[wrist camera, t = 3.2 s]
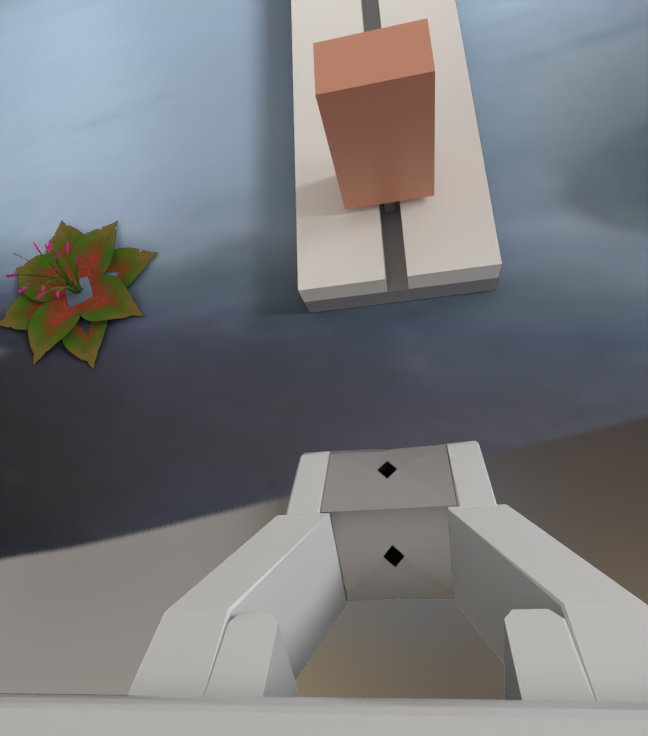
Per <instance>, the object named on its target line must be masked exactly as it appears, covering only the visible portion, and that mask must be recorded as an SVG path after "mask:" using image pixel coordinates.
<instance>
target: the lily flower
mask: <svg viewBox="0 0 648 736" xmlns="http://www.w3.org/2000/svg"><path fill="white" fill-rule="evenodd" d="M117 222H118V221H116V222H114V223H113V224H110V225H107V226H104V227H103V228H102V229H100V230H99V229H96V230H93V231H91V232H89V233H87V234H85V235H83V234H82V233H81V232H80V231H79V230H77V229H75V228H73V227H71V226H66V224H65V223H64V222H63V221H62V220H61V223H60V226H59V227H58V229H57V231H56V233H55V234H56V236H54V237H53V238H52V239H51V240H50V241H49V245H48V247H47V246H46V244H45V246H46V249H47V250H48V251H47V255H42V254H41V252H40V250H39V249H38V247H37V246H36V244H34V245H35V247H36V249H37V250H38V252H40V254H41V255H38V256H36V257H34V258H32V259H31V260H30V261H28V262H27V263H26V264H25V265H24V266H23V267H19V268H16V270H17V271H18V272H17V273H18V274H17V275H18V277H19V280H18V284H19V287H20V290H19V291H18V292H19V293H21V292H22V291H23V293H22V294H21V295H20V296H18V297H17V298H16V299H15V300H14V302H13V303H12V304H11V306H10V307H9V309H8V311H7V312H6V314H5V318H4V320H1V321H0V326H4V327H12V328H13V329H19V330H28V336H29V341H30V346H31V350H32V351H33V353H34V354H35V355H34V356H33V365H34V364H35V363H36V362H37V360H39V359H40V358H41V357H42V356H43V355H44V354H45V352H46V351H48V350H50V349H51V348H52V347H53V346H54V345H55V344H56V343H57V342H58V341H60V340H61V339H62V342H63V344H64V346H65V347H66V348H67V349H68V350H69V351H70V352H71V353H72V354H74V355H75V356H77V357H78V358H80V359H81V360H85V361H88V364H89V365H90V366H91V367H92V368H94V361H95V360H96V357H97V354H98V348H99V347H100V345H101V342H102V339H103V336H104V333H105V330H106V326H107V320H109V319H118V318H126V317H129V316H131V315H134V316H144V315H143V314H142V313H141V312H140V311H139V308H138V307H137V305H136V303H135V302H134V301H132V299H131V298H132V296H131V294H130V293H129V291H128V290H127V287H128V286H129V285H130V284H131V283H132V282H133V281H134V279H135V278H136V277H137V276H138V275H139V274H140V272H141V271H142V270H143V269H144V268H145V267H146V265H147V264H148V262H149V260H150V259H152V258H153V257H154V256H155V255H156V254H157V253H158V252H152V253H151V252H148V251H141V252H140V251H139V249H134V248H120V249H116V250H114V241H115V235H116V230H115V227H116V226H117ZM33 243H34V242H33ZM12 253H13V252H12ZM14 254H15V253H14ZM16 255H17V254H16ZM18 256H19V255H18ZM20 257H21V256H20ZM22 258H23V257H22ZM105 272H120V273H119V274H118V275H117V277H116V276H113V275H104V273H105ZM17 275H16V274H14V275H13V274H11V275H6V276H7V277H13V276H14V277H15V276H17ZM103 275H104V276H103ZM85 276H88V278H89V281H90V284H91V287H92V293H93V297H91V298H90V299H88V300H86V301H84V302H82V303H81V304H78V305H75V306H72V307H68V303H67V299H66V295H65V289H67V290H70V291H72V292H74V293H79V292H81V291H80V290H82V288H81V286H80V283H79V279H80V278H83V277H85ZM74 282H75V283H76V285H77V286H76V285H75V283H74ZM67 285H69V286H70V287H68V286H67ZM71 287H72V288H71ZM74 288H75V289H74ZM44 302H45V303H44ZM43 303H44V304H43ZM80 316H82V317H83V318H84V319H85V320H88V321H92V322H91V326H90V329H89V330H88V337H87V335H86V333H85V332H84V331H83V330H82V329H81V328H80V327H79V326H78V325H77V324H76V323H77V322H78V320H79V318H80Z"/></svg>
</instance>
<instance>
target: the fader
mask: <svg viewBox="0 0 648 736" xmlns="http://www.w3.org/2000/svg"><path fill="white" fill-rule="evenodd" d="M313 54H314V77H315V96H316V100H317V104H318V107H319V111H320V115H321V119H322V123H323V127H324V130H325V134H326V138H327V142H328V146H329V150H330V153H331V157H332V161H333V165H334V169H335V173H336V176H337V180H338V184H339V188H340V192H341V195H342V199H343V203H344V207H345V210H346V209H352V208H358V207H365V206H371V205H378V204H384V206H385V212H391V211H395V202H397V201H403V200H409V199H416V198H422V197H428V196H434V160H435V66H434V59H433V52H432V46H431V39H430V32H429V26H428V19H427V18H426V19H422V20H417V21H412V22H408V23H403V24H399V25H394V26H390V27H385V28H380V29H376V30H371V31H367V32H362V33H358V34H353V35H348V36H344V37H339V38H335V39H330V40H326V41H321V42H316V43H313Z"/></svg>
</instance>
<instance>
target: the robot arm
mask: <svg viewBox="0 0 648 736" xmlns="http://www.w3.org/2000/svg"><path fill="white" fill-rule="evenodd" d="M399 597H400V598H399ZM382 599H383V600H384V599H454V602H455V603H456V604H457V606H458V607H459V608H460V609H461V611H462V612H463V613H464V614H465V616H466V617H467V618H468V619H469V621H470V622H471V623H472V625H473V626H474V627H475V628H476V630H477V631H478V632H479V633H480V635H481V636H482V637H483V638H484V640H485V641H486V642H487V643H488V645H489V646H490V647H491V649H492V650H493V651H494V652H495V654H496V655H497V656H498V657H499V659H500V660H501V661H502V662H503V664H504V665H505V700H486V699H484V700H481V699H410V698H407V699H406V698H404V699H403V698H332V697H331V698H329V697H327V698H325V697H299V694H298V691H297V687H296V683H295V681H296V679H297V678H298V676H299V675H300V673H301V672H302V670H303V669H304V667H305V666H306V664H307V662H308V661H309V660H310V658H311V657H312V655H313V654H314V653H315V651H316V650H317V648H318V647H319V645H320V644H321V642H322V641H323V639H324V637H325V636H326V635H327V633H328V632H329V631H330V629H331V628H332V626H333V625H334V623H335V622H336V620H337V619H338V617H339V616H340V614H341V613H342V611H343V610H344V608H345V607H346V605H347V601H362V600H382ZM0 736H648V605H647V604H645V603H644V602H643V601H641V600H640V599H638V598H637V597H636V596H634V595H632V594H631V593H630V592H628V591H627V590H626V589H624V588H623V587H621V586H620V585H619V584H617V583H616V582H614V581H613V580H612V579H610V578H609V577H607V576H606V575H605V574H603V573H602V572H601V571H599V570H598V569H596V568H595V567H593V566H592V565H591V564H589V563H588V562H586V561H585V560H584V559H582V558H581V557H579V556H578V555H577V554H575V553H574V552H572V551H571V550H570V549H568V548H567V547H565V546H564V545H562V544H561V543H560V542H558V541H557V540H556V539H554V538H553V537H551V536H550V535H549V534H547V533H546V532H544V531H543V530H541V529H540V528H539V527H537V526H536V525H535V524H533V523H532V522H530V521H529V520H528V519H526V518H525V517H523V516H522V515H521V514H519V513H518V512H516V511H515V510H514V509H512V508H511V507H509V506H508V505H506V504H503V505H497V504H496V500H495V497H494V493H493V490H492V487H491V483H490V480H489V477H488V473H487V470H486V466H485V463H484V460H483V456H482V453H481V450H480V446H479V443H478V442H476V441H468V442H458V443H448V444H444V445H432V446H420V447H408V448H397V449H367V450H346V451H332V452H330V451H326V452H312V453H304V454H303V455H302V456H301V457H300V460H299V464H298V468H297V472H296V476H295V480H294V484H293V488H292V491H291V495H290V499H289V503H288V507H287V511H286V515H280V516H279V515H278V516H276V517H275V518H274V519H273V520H271V521H270V522H269V523H268V524H267V525H266V526H264V527H263V528H262V529H261V530H260V531H259V532H257V533H256V534H255V535H254V536H253V537H252V538H250V539H249V540H248V541H247V542H246V543H245V544H243V545H242V546H241V547H240V548H239V549H238V550H236V551H235V552H234V553H233V554H232V555H231V556H230V557H228V558H227V559H226V560H225V561H224V562H222V563H221V564H220V565H219V566H218V567H217V568H215V569H214V570H213V571H212V572H211V573H210V574H208V575H207V576H206V577H205V578H204V579H203V580H202V581H200V582H199V583H198V584H197V585H196V586H195V587H193V588H192V589H191V590H190V591H189V592H187V593H186V594H185V595H184V596H183V597H182V598H181V599H179V600H178V601H177V602H176V603H175V604H173V605H172V606H171V607H170V608H169V609H168V610H167V611H165V612H164V614H163V617H162V619H161V621H160V623H159V626H158V628H157V630H156V632H155V634H154V637H153V639H152V641H151V643H150V645H149V648H148V650H147V652H146V654H145V656H144V659H143V661H142V663H141V665H140V667H139V670H138V672H137V674H136V676H135V678H134V681H133V683H132V685H131V687H130V690H129V692H128V694H127V695H94V694H15V693H11V694H10V693H0Z"/></svg>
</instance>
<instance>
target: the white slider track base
mask: <svg viewBox="0 0 648 736" xmlns="http://www.w3.org/2000/svg"><path fill="white" fill-rule="evenodd" d="M291 15H292V57H293V99H294V141H295V183H296V225H297V267H298V291H299V293H300V295H301V297H302V299H303V301H304V303H305V305H306V306H307V308H308V310H309V312H310V313H313V312H321V311H330V310H338V309H346V308H354V307H362V306H370V305H378V304H387V303H395V302H403V301H411V300H419V299H427V298H435V297H444V296H452V295H460V294H468V293H476V292H484V291H492V290H495V289H496V285H497V281H498V277H499V273H500V270H501V266H502V261H501V255H500V250H499V244H498V239H497V233H496V227H495V222H494V216H493V210H492V205H491V199H490V193H489V188H488V182H487V176H486V171H485V165H484V159H483V154H482V148H481V142H480V137H479V131H478V126H477V120H476V114H475V109H474V103H473V97H472V92H471V86H470V80H469V75H468V69H467V63H466V58H465V52H464V46H463V41H462V35H461V29H460V24H459V18H458V13H457V7H456V1H455V0H291ZM426 18H427V19H428V26H429V32H430V39H431V46H432V52H433V59H434V66H435V160H434V196H428V197H422V198H416V199H409V200H403V201H397V202H395V211H391V212H385V206H384V204H378V205H371V206H365V207H358V208H352V209H346V210H345V207H344V203H343V199H342V195H341V192H340V188H339V184H338V180H337V176H336V173H335V169H334V165H333V161H332V157H331V153H330V150H329V146H328V142H327V138H326V134H325V130H324V127H323V123H322V119H321V115H320V111H319V107H318V104H317V100H316V96H315V77H314V54H313V43H316V42H321V41H326V40H330V39H335V38H339V37H344V36H348V35H353V34H358V33H362V32H367V31H371V30H376V29H380V28H385V27H390V26H394V25H399V24H403V23H408V22H412V21H417V20H422V19H426Z"/></svg>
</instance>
